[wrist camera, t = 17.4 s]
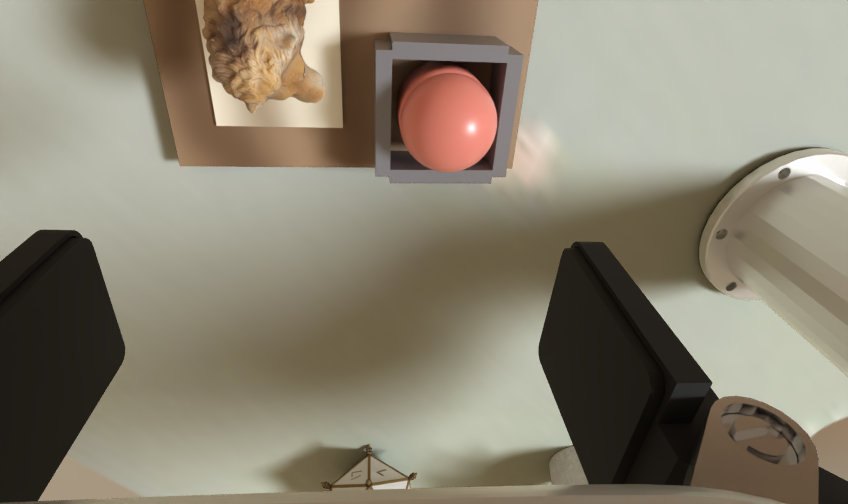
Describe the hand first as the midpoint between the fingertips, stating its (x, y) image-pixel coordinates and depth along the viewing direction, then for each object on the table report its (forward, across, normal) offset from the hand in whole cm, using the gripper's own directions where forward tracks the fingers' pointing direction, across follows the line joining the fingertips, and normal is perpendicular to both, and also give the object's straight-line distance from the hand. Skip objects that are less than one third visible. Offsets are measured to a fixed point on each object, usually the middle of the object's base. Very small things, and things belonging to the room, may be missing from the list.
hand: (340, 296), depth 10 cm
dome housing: (+20, -4, +1) cm, 21 cm away
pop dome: (+20, -4, +1) cm, 20 cm away
